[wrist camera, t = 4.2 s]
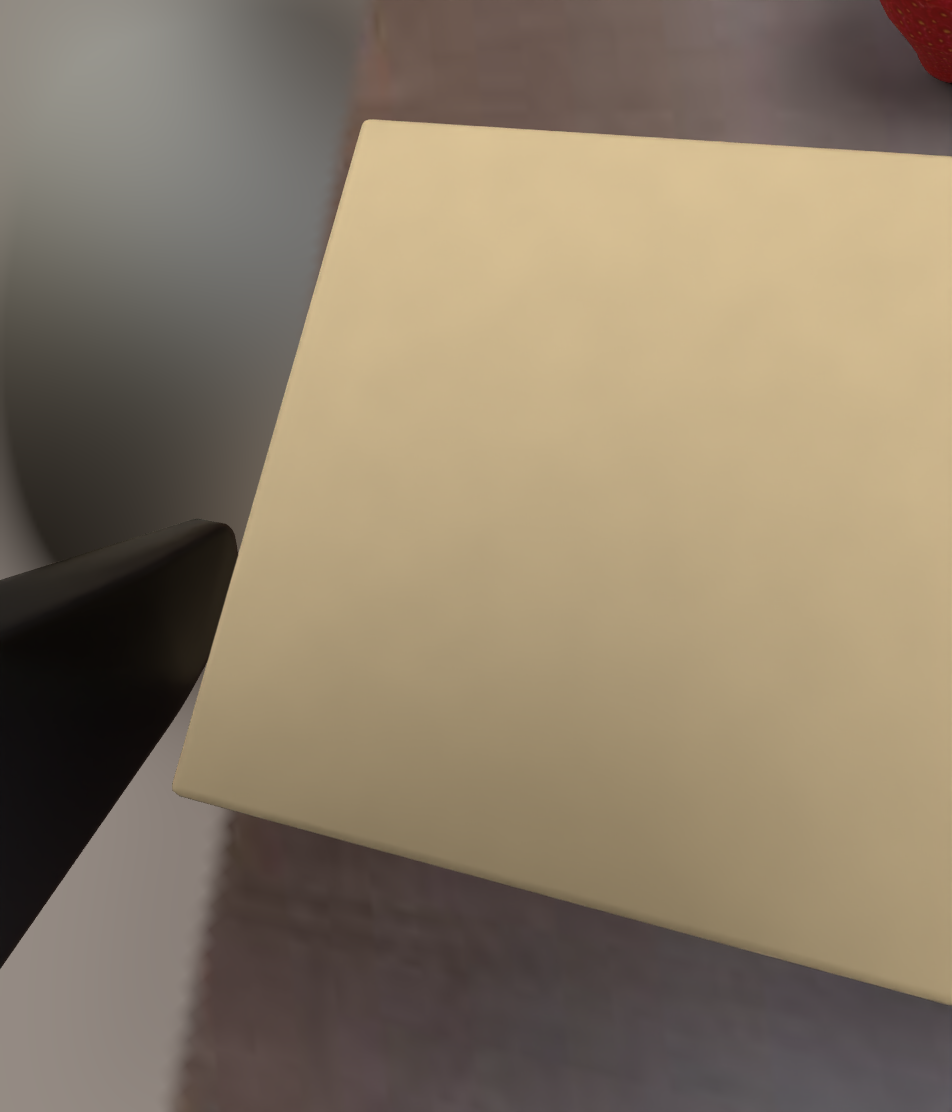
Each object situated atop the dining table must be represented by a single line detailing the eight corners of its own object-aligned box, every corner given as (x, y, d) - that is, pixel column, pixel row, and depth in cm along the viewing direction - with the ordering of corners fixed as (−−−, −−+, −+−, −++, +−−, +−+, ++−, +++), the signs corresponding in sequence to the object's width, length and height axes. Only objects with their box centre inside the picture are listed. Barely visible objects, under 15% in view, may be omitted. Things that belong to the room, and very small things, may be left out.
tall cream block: (714, 816, 15) (1060, 1059, 3) (484, 761, 16) (160, 810, 4) (750, 582, 16) (1121, 160, 4) (530, 543, 17) (361, 115, 5)
